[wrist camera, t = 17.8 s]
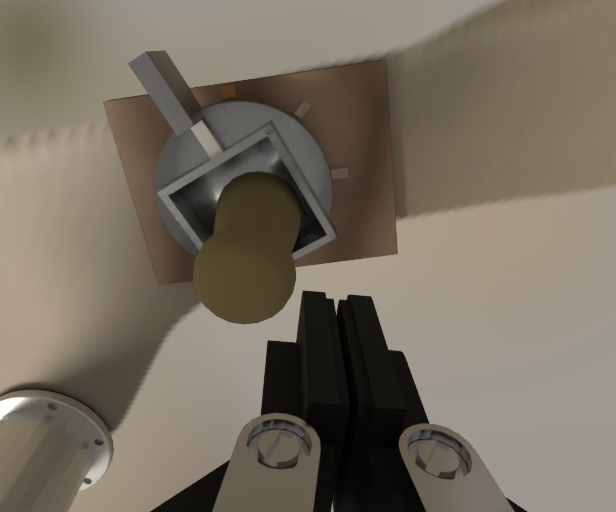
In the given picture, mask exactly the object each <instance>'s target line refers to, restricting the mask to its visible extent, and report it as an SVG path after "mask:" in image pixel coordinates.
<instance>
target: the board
mask: <svg viewBox="0 0 616 512" xmlns="http://www.w3.org/2000/svg"><path fill="white" fill-rule="evenodd" d="M190 90H191V91H192V93H193V94H194V96H195V98H196V99H197V101H198V102H199V104H200V105H201V107H202V108H203V109H204V108H206V107H208V106H210V105H213V104H215V103H218V102H222V101H227V100H234V99H251V100H258V101H263V102H267V103H270V104H273V105H275V106H278V107H280V108H282V109H284V110H286V111H288V112H289V113H291V114H292V115H294V116H295V117H296V118H298V119H299V120H300V121H301V122H302V123H303V124H304V125H306V126H307V128H308V129H309V130H310V131H311V132H312V133H313V135H314V136H315V138H316V139H317V141H318V142H319V144H320V146H321V148H322V150H323V152H324V154H325V157H326V160H327V163H328V167H329V171H330V177H331V182H332V202H331V208H330V213H329V217H330V219H331V221H332V222H333V224H334V226H335V227H336V232H337V238H335V239H334V240H332V241H330V242H328V243H326V244H324V245H322V246H320V247H319V248H317V249H315V250H313V251H311V252H309V253H307V254H305V255H303V256H302V257H300V258H298V259H296V260H294V262H295V267H300V266H307V265H315V264H323V263H331V262H339V261H347V260H354V259H362V258H370V257H378V256H386V255H394V254H398V250H397V234H396V218H395V202H394V185H393V169H392V153H391V137H390V121H389V105H388V89H387V73H386V60H378V61H371V62H364V63H358V64H351V65H344V66H337V67H330V68H324V69H317V70H310V71H303V72H296V73H290V74H283V75H276V76H269V77H262V78H256V79H249V80H242V81H235V82H229V83H222V84H215V85H208V86H201V87H194V88H190ZM103 103H104V107H105V110H106V113H107V117H108V120H109V123H110V126H111V130H112V133H113V136H114V140H115V143H116V146H117V149H118V153H119V156H120V159H121V162H122V166H123V169H124V172H125V176H126V179H127V182H128V185H129V189H130V192H131V195H132V199H133V202H134V205H135V208H136V212H137V215H138V218H139V222H140V225H141V228H142V231H143V235H144V238H145V241H146V245H147V248H148V251H149V254H150V258H151V261H152V264H153V268H154V271H155V274H156V277H157V281H158V284H159V285H160V284H168V283H176V282H183V281H191V280H193V271H194V263H195V259H196V258H195V257H194V256H193V255H191V254H190V253H189V252H187V251H186V250H185V249H184V248H183V247H182V246H181V245H180V244H179V243H178V242H177V241H176V239H175V238H174V237H173V236H172V234H171V233H170V231H169V230H168V228H167V227H166V225H165V223H164V221H163V219H162V217H161V214H160V211H159V208H158V205H157V200H156V196H155V172H156V167H157V162H158V159H159V156H160V154H161V151H162V149H163V147H164V145H165V143H166V141H167V140H168V139H169V137H170V136H171V134H172V133H173V132H174V130H173V129H172V127H171V126H170V124H169V123H168V121H167V120H166V118H165V117H164V116H163V114H162V113H161V111H160V110H159V108H158V107H157V105H156V104H155V102H154V101H153V99H152V98H151V97H150V95H149V94H147V95H141V96H134V97H126V98H120V99H113V100H108V101H105V102H103Z"/></svg>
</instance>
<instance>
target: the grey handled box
mask: <svg viewBox="0 0 616 512" xmlns="http://www.w3.org/2000/svg"><path fill="white" fill-rule="evenodd" d="M128 64H129V66H130V67H131V69H132V70H133V71H134V73H135V75H136V76H137V77H138V79H139V80H140V82H141V83H142V85H143V86H144V88H145V89H146V91H147V92H148V93H149V95H150V97H151V98H152V99H153V101H154V102H155V104H156V105H157V107H158V108H159V110H160V111H161V113H162V114H163V116H164V117H165V118H166V120H167V121H168V123H169V124H170V126H171V127H172V129H173V130H174V132H173V133H172V134H171V136H170V137H169V139H168V140H167V141H166V143H165V145H164V147H163V149H162V151H161V154H160V156H159V159H158V162H157V167H156V172H155V196H156V200H157V205H158V208H159V211H160V214H161V217H162V219H163V221H164V223H165V225H166V227H167V228H168V230H169V231H170V233H171V234H172V236H173V237H174V238H175V239H176V241H177V242H178V243H179V244H180V245H181V246H182V247H183V248H184V249H185V250H186V251H187V252H189V253H190V254H191V255H193V256H194V257H195V258H196V257H197V255H198V253H199V252H200V250H201V248H202V246H203V244H204V242H206V241H207V240H208V239H209V238H210V237H211V236H212V235H213V234H214V225H215V216H216V208H217V200H218V198H219V196H220V194H221V192H222V190H223V188H224V187H225V186H226V185H227V184H228V183H229V182H230V181H231V180H232V179H233V178H235V177H237V176H240V175H242V174H244V173H247V172H256V171H262V172H267V173H272V174H275V175H277V176H279V177H281V178H283V179H284V180H286V181H287V182H288V183H289V184H290V185H291V186H292V187H293V188H294V189H295V190H296V192H297V194H298V196H299V198H300V200H301V202H302V208H303V220H302V225H301V229H300V231H299V234H298V237H297V239H296V242H295V245H294V247H293V250H292V252H291V254H292V256H293V258H294V260H296V259H298V258H300V257H302V256H303V255H305V254H307V253H309V252H311V251H313V250H315V249H317V248H319V247H320V246H322V245H324V244H326V243H328V242H330V241H332V240H334V239H335V238H337V232H336V227H335V226H334V224H333V222H332V221H331V219H330V217H329V213H330V208H331V202H332V182H331V177H330V171H329V167H328V163H327V160H326V157H325V154H324V152H323V150H322V148H321V146H320V144H319V142H318V141H317V139H316V138H315V136H314V135H313V133H312V132H311V131H310V130H309V129H308V128H307V126H306V125H304V124H303V123H302V122H301V121H300V120H299V119H298V118H296V117H295V116H294V115H292V114H291V113H289V112H288V111H286V110H284V109H282V108H280V107H278V106H275V105H273V104H270V103H267V102H263V101H258V100H251V99H234V100H227V101H222V102H218V103H215V104H213V105H210V106H208V107H206V108H204V109H203V108H202V107H201V105H200V104H199V102H198V101H197V99H196V98H195V96H194V94H193V93H192V91H191V90H190V88H189V87H188V85H187V84H186V82H185V81H184V79H183V77H182V76H181V74H180V73H179V71H178V70H177V68H176V67H175V65H174V63H173V62H172V60H171V59H170V57H169V56H168V54H167V53H166V51H150V52H145V53H143V54H141V55H140V56H139V57H137V58H136V59H135V60H133V61H131V62H130V63H128Z"/></svg>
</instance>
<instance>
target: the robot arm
mask: <svg viewBox="0 0 616 512" xmlns="http://www.w3.org/2000/svg"><path fill="white" fill-rule="evenodd" d="M113 451H114V449H113V440H112V437H111V434H110V432H109V430H108V428H107V427H106V425H105V424H104V422H103V421H102V420H101V419H100V418H99V417H98V416H97V414H96V413H94V412H93V411H92V410H90V409H89V408H88V407H87V406H85V405H83V404H82V403H80V402H78V401H76V400H75V399H72V398H70V397H67V396H65V395H62V394H58V393H54V392H50V391H43V390H20V391H15V392H10V393H8V394H5V395H3V396H0V512H69V509H70V507H71V505H72V503H73V501H74V499H75V497H76V495H77V493H78V491H81V490H84V489H86V488H88V487H90V486H92V485H94V484H95V483H97V482H98V481H99V480H100V479H101V478H102V477H103V476H104V474H105V473H106V471H107V469H108V467H109V465H110V463H111V460H112V457H113ZM332 502H333V509H334V512H527V511H525V510H524V509H523V508H521V507H520V506H518V505H517V504H515V503H514V502H512V501H511V500H509V499H508V498H506V497H505V496H504V494H503V493H502V491H501V489H500V488H499V486H498V485H497V483H496V482H495V480H494V478H493V477H492V475H491V474H490V472H489V471H488V469H487V467H486V466H485V464H484V463H483V461H482V459H481V458H480V456H479V455H478V453H477V452H476V450H475V449H474V448H473V447H472V445H471V444H470V443H469V442H468V441H467V440H466V439H464V438H463V437H462V436H461V435H459V434H458V433H456V432H454V431H452V430H450V429H448V428H446V427H442V426H439V425H435V424H429V421H428V419H427V416H426V413H425V410H424V408H423V405H422V402H421V399H420V396H419V394H418V391H417V388H416V385H415V383H414V380H413V377H412V375H411V372H410V369H409V366H408V363H407V361H406V358H405V356H404V354H403V352H401V351H393V350H388V347H387V344H386V341H385V338H384V335H383V332H382V329H381V325H380V322H379V319H378V316H377V313H376V309H375V306H374V303H373V300H372V298H371V297H370V296H359V295H348V297H347V300H339V303H338V309H337V315H336V312H335V306H334V300H333V299H327V298H326V294H325V292H314V291H303V293H302V299H301V307H300V315H299V324H298V332H297V340H296V343H294V342H281V341H269V340H268V344H267V354H266V366H265V375H264V386H263V396H262V407H261V416H259V417H257V418H255V419H252V420H251V421H250V422H249V423H248V424H246V425H245V426H244V427H243V429H242V431H241V432H240V434H239V436H238V439H237V442H236V445H235V448H234V451H233V454H232V457H231V459H230V460H229V461H227V462H226V463H224V464H223V465H221V466H220V467H218V468H216V469H215V470H214V471H212V472H210V473H209V474H207V475H206V476H204V477H203V478H201V479H200V480H198V481H197V482H195V483H193V484H192V485H190V486H189V487H187V488H186V489H184V490H183V491H181V492H180V493H178V494H177V495H175V496H173V497H172V498H170V499H169V500H167V501H166V502H164V503H163V504H161V505H160V506H158V507H157V508H155V509H154V510H152V511H151V512H331V506H332Z"/></svg>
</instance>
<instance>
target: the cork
mask: <svg viewBox="0 0 616 512" xmlns="http://www.w3.org/2000/svg"><path fill="white" fill-rule="evenodd" d="M302 220H303V208H302V202H301V200H300V198H299V196H298V194H297V192H296V190H295V189H294V188H293V187H292V186H291V185H290V184H289V183H288V182H287V181H286V180H284V179H283V178H281V177H279V176H277V175H275V174H272V173H267V172H262V171H256V172H247V173H244V174H242V175H240V176H237V177H235V178H233V179H232V180H231V181H230V182H229V183H228V184H227V185H226V186H225V187H224V188H223V190H222V192H221V194H220V196H219V198H218V200H217V208H216V216H215V225H214V234H213V235H212V236H211V237H210V238H209V239H208V240H207V241H206V242H204V244H203V246H202V248H201V250H200V252H199V253H198V255H197V257H196V259H195V263H194V271H193V280H194V284H195V288H196V293H197V295H198V296H199V298H200V299H201V301H202V303H203V304H204V306H205V307H207V308H208V309H209V310H210V311H211V312H213V313H214V314H215V315H216V316H218V317H220V318H222V319H224V320H226V321H228V322H232V323H238V324H251V323H258V322H261V321H263V320H266V319H268V318H271V317H273V316H274V315H275V314H277V313H278V312H279V311H280V310H282V309H283V307H284V306H285V304H286V303H287V301H288V300H289V298H290V297H291V295H292V293H293V290H294V285H295V281H296V270H295V262H294V258H293V256H292V254H291V252H292V250H293V247H294V245H295V242H296V239H297V237H298V234H299V231H300V229H301V225H302Z"/></svg>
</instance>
